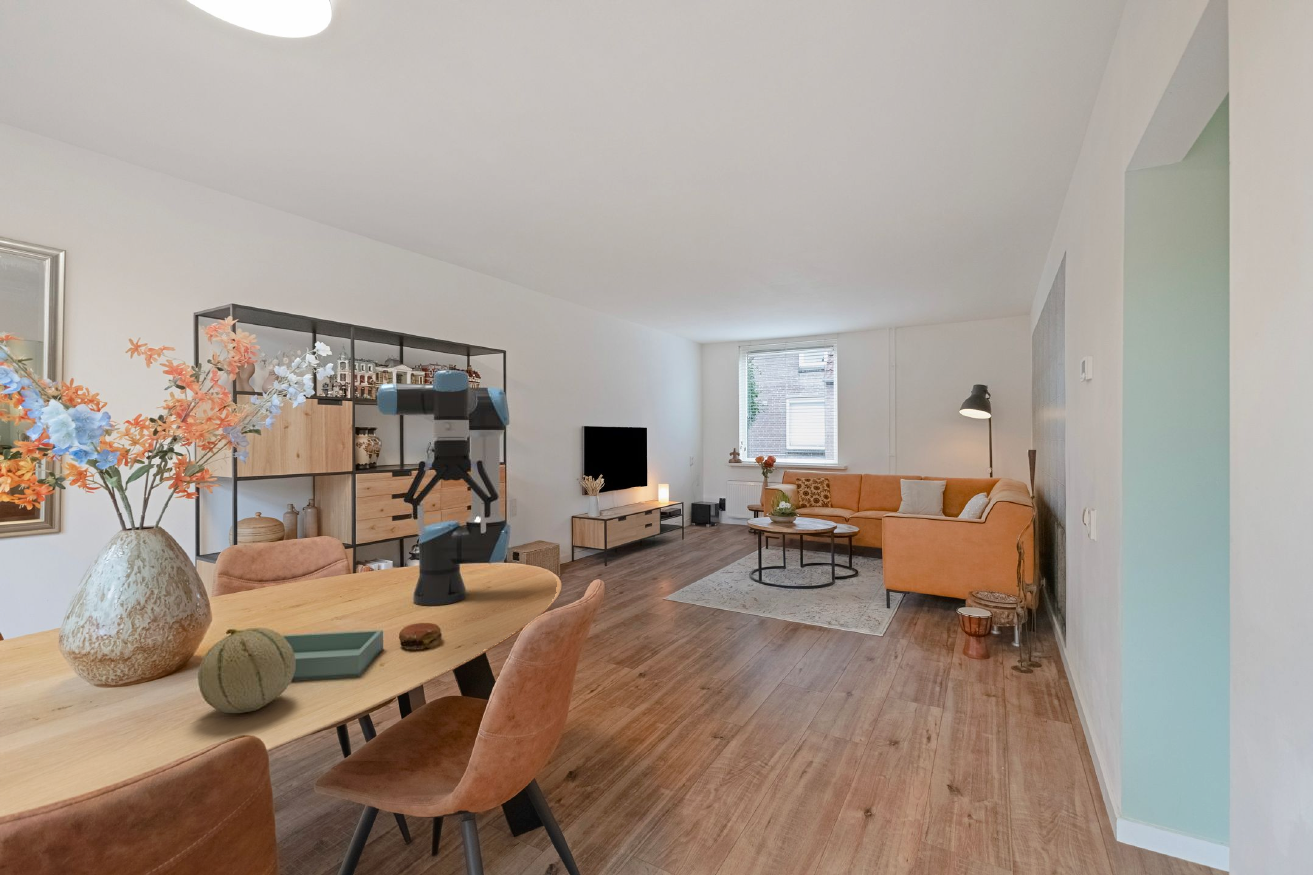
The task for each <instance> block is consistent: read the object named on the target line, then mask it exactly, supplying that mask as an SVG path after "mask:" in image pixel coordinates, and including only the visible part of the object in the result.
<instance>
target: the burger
mask: <svg viewBox="0 0 1313 875" xmlns="http://www.w3.org/2000/svg"><path fill="white" fill-rule="evenodd" d="M442 638H443V634H442V631H441V627H440V625H438V624H436V623H434V622H433V623H431V622H418V623H413V624H409V625H406V626H404V627H402V629H401V630H400V632H399V634H398V639H399V643H400V646H401V647H403V648H405V649H406V650H412V651H413V650H420V651H421V650H424V649H425V648H427V649H432V648H434V649H435V647H437V646H439V645H440V644H441V643H442Z"/></svg>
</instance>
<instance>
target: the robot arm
mask: <svg viewBox="0 0 1313 875" xmlns="http://www.w3.org/2000/svg"><path fill="white" fill-rule="evenodd" d="M376 403H377V408H378V411H379V412H380V413H381V414H382V415H389V416H413V417H421V418H424V419H425V420H427V421H429V422H433V437H434V438H436V440H435V441H433V461H432V462H431V461H426V460H422V461H421V460H420V461H419V463H418V471H417V472H416V475H415V477H414V479H413V481H412V482H411V484H410V486H409V488H408V490H407V493H406V494H405V496H404V498H403V502H404V503H406V504H410V505H412V518H413V520H417V536H418V538H419V540H418V559H419V560H418V562H419V569H418V570H419V576H418V579H417V582H416V585H415V587H414V591H413V595H412V596H413V599H412V600H413V601H412V602H413V603H414V604H416V605H419V606H427V607H428V606H431V607H433V606H444V605H449V604H450V605H451V604H454V603H457V602H460V601H461V602H462V600H464V599H465V598H466V597H467V589H466V585H465V583H464V580H463V578H462V574H461V566H460V565H468V564H469V565H471V564H473V565H474V564H496V563H502V562H504V561H505V560H506V557H507V555H508V551H509V544H510V539H511V538H510V537H511V525H510V524H508V523H506V517H504V516H503V515H502V514H501V488H500V487H501V472H500V470H501V469H500V468H501V464H500V463H501V462H500V461H501V460H500V454H501V453H500V446H501V444H500V443H501V442H500V438H501V437H500V436H502V435H503V433H504V432H505V427H507V426H509V425H510V412H509V411H510V410H509V404H508V399H507V396H506V393H505V391H504V390H503V389H502V388H499V387H490V386H488V387H471V386H470V383H469V375H468V373H467V372H465V371H461V370H450V369H449V370H447V369H446V370H437V371H435V373H434V374H433V383H396V382H392V383H382V384H380V385H379V387H378V388H377V392H376ZM467 438H470V441H469V440H468V439H467ZM431 468H432V469H433V470H434V472H435V474H434V475H433V477H432V478H431V479H430V481H429V482H428V483H427V484H426V485H425V486H424V488H423V489H421V491H420V492H419V493H418V494H417V496H416V497H415V495H416V492H417V491H418V489H419V487H420V485H421V484H422V481H423V479H424V478H425V475H426V473H427V472H428V471H429V470H430V469H431ZM469 471H470V473H469ZM441 480H442V481H443V482H445V481H446V482H448V481H457V482H458V481H460V480H463V481H464V483H466V484H467V485H468V486H469V487H470V492H471V493H470V496H471V499H470V500H471V502H470V506H471V509H470V510H471V513H470V516H468V518H467V519H466V521H465V522H466V523H465V525H461V523H460V521H459V520H447V521H441V522H436V523H431V524H428V525H426V526H425V504H421V503H422V502H423V500H424V499H425V498H426V497H427V496H428V495H429V494H430V492H431V491H432V490H433V489H434V487H435V486H436V485H437V484H438V483H439V482H440V481H441Z"/></svg>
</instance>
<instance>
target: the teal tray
mask: <svg viewBox="0 0 1313 875" xmlns="http://www.w3.org/2000/svg"><path fill="white" fill-rule="evenodd" d="M281 635H282V636H283V637H284V638H285V639H286V640H287V642H288V643H289V644H290V646H291V647H292V650H293V652H294V655H295V660H296V669H295V673H294V676H293V678H292V680H291V682H294V681H295V682H296V681H297V682H298V681H312V680H313V681H314V680H327V679H328V680H330V679H344V678H345V679H346V678H360V676H361V675H362V674H363V672H365V671H366V669H367V668H368V667H369V666H370V665H371V664H372V662H373V661H374V660H375V659H376V658H377V657H378V656H379V655H380V653H381V652H382V651H383V650H384V629H375V630H374V629H373V630H358V631H357V630H353V631H337V632H336V631H335V632H318V633H317V632H315V633H300V634H299V633H298V634H295V633H294V634H281Z"/></svg>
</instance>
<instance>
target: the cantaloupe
mask: <svg viewBox="0 0 1313 875" xmlns="http://www.w3.org/2000/svg"><path fill="white" fill-rule="evenodd" d="M229 634H230V635H229ZM225 635H227V636H225V637H224V638H222V639H221V640H219V641H218V642H216V643H214V644H213V645H212V646H211V647H210V649H208V651H207V652H206V653H205V655H204V657H203V658H202V660H201V662H200V665H199V668H198V672H197V679H198V680H197V681H198V687H199V691H200V694H201V696H202V698H203V700H204V701H205V702H206V704H208V705H209V706H210V707H212V708H213V709H215V710H217V711H218V712H222V713H226V714H243V713H250V712H254V711H257V710H259V709H261V708H263V707H264V706H267V705H268V704H269V703H271V702H272V701H274V700H275V699H277V698H278V697H279V696H281V695H282V694H283V693H284V692H285V691H286V690H287V688H288V687H289V685H290V684H291V682H292V681H291V680H292V678H293V676H294V673H295V669H296V660H295V655H294V652H293V650H292V647H291V646H290V644H289V643H288V642H287V640H286V639H285V638H284V637H283V636H282V635H283V634H281V633H279V632H277V631H275V630H273V629H270V628H267V627H252V628H245V629H243V630H242V629H241V630H238V629H236V628H229V629H227V630H226V633H225Z"/></svg>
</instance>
